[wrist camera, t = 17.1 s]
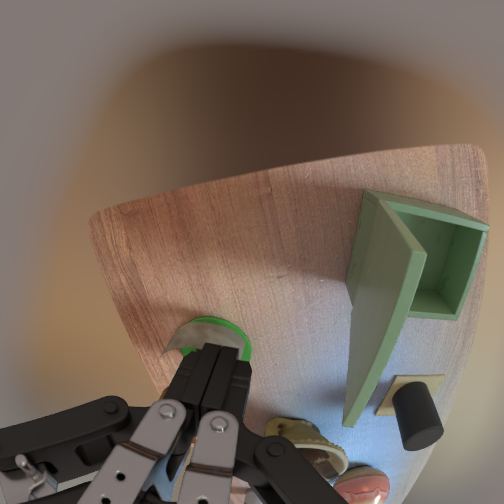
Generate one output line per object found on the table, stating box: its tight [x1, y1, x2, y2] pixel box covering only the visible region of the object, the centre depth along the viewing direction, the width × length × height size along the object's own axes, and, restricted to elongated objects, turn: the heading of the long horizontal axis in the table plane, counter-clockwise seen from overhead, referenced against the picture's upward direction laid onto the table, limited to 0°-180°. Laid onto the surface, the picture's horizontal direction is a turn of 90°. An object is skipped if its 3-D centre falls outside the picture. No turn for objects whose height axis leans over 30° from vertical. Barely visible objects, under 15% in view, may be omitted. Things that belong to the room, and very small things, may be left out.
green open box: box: [345, 189, 489, 321], centre depth 29 cm, size 14×12×7 cm
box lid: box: [342, 200, 427, 428], centre depth 19 cm, size 14×12×1 cm
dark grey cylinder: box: [392, 381, 444, 451], centre depth 35 cm, size 7×7×10 cm
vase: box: [333, 466, 390, 504], centre depth 42 cm, size 14×14×18 cm
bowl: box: [265, 417, 348, 481], centre depth 41 cm, size 18×18×10 cm
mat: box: [375, 375, 446, 416], centre depth 40 cm, size 10×10×1 cm
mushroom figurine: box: [157, 317, 251, 443], centre depth 34 cm, size 12×13×15 cm
